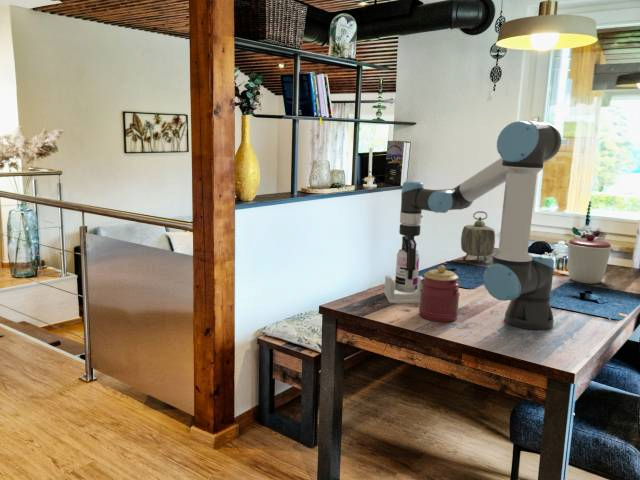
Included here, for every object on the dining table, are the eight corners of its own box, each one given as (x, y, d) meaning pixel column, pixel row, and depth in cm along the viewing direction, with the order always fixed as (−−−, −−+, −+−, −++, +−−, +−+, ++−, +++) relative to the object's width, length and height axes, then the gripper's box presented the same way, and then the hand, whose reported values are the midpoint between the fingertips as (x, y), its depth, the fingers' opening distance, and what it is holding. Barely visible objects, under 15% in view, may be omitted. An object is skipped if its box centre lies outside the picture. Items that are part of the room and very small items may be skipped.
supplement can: (416, 287, 211) (418, 249, 208) (417, 293, 203) (420, 253, 200) (394, 286, 212) (396, 248, 209) (395, 292, 204) (397, 252, 201)
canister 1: (429, 323, 180) (433, 270, 177) (412, 311, 192) (415, 261, 189) (465, 321, 183) (469, 269, 180) (446, 309, 196) (449, 260, 192)
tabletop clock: (487, 259, 279) (492, 210, 274) (494, 264, 270) (499, 213, 265) (459, 259, 278) (463, 209, 273) (465, 263, 269) (469, 212, 264)
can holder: (428, 303, 201) (429, 285, 200) (390, 303, 201) (391, 284, 200) (420, 292, 215) (421, 275, 214) (384, 292, 215) (385, 274, 213)
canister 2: (568, 284, 235) (574, 235, 231) (558, 274, 253) (563, 228, 249) (614, 288, 232) (620, 238, 228) (600, 277, 250) (606, 231, 246)
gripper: (427, 229, 193) (422, 292, 197) (414, 219, 213) (410, 277, 218) (405, 228, 192) (401, 291, 197) (395, 219, 213) (391, 276, 217)
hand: (406, 284), depth 207 cm, fingers closed on supplement can, 8 cm apart
